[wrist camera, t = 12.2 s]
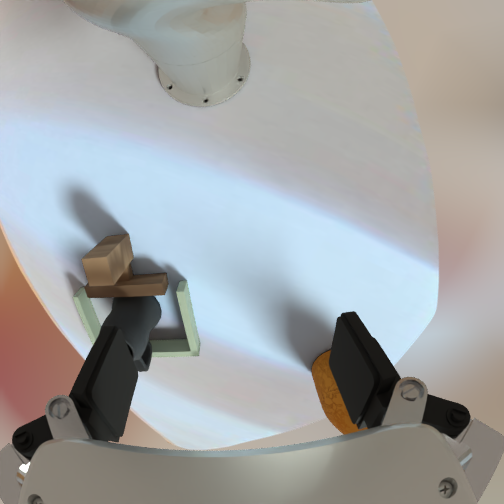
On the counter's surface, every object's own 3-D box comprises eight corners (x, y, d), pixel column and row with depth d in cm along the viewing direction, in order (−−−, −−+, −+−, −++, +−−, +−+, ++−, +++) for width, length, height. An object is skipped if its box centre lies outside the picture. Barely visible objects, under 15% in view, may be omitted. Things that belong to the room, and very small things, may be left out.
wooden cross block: (82, 239, 38) (54, 261, 30) (158, 230, 39) (141, 253, 31) (95, 287, 42) (74, 316, 33) (168, 283, 42) (156, 316, 34)
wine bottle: (300, 372, 53) (337, 499, 25) (328, 340, 50) (388, 472, 22) (333, 381, 55) (376, 492, 28) (361, 351, 52) (421, 464, 25)
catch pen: (81, 287, 41) (72, 297, 38) (186, 280, 42) (184, 291, 39) (103, 344, 46) (98, 355, 43) (200, 343, 47) (198, 356, 44)
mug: (105, 290, 42) (79, 329, 32) (149, 281, 42) (130, 321, 32) (132, 343, 47) (117, 385, 36) (174, 337, 47) (165, 382, 36)
